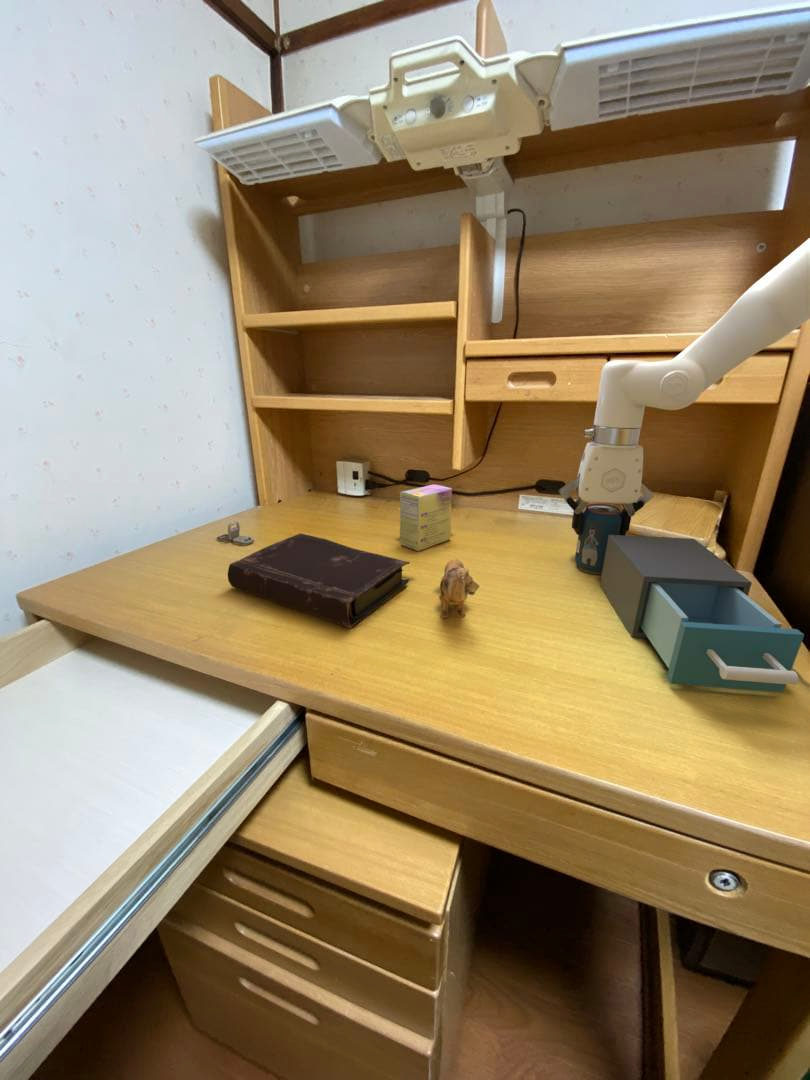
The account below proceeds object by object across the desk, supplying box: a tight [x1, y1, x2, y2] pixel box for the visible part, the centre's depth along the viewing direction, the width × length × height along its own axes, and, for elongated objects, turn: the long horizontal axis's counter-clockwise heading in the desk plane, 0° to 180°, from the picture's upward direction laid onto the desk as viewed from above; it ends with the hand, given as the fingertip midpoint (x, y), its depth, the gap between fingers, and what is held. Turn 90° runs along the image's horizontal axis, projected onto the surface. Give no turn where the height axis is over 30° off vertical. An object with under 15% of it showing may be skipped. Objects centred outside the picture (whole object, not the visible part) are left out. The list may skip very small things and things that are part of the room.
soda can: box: [574, 503, 622, 575], centre depth 86 cm, size 7×7×12 cm
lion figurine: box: [438, 558, 480, 619], centre depth 72 cm, size 15×5×9 cm, turn 3°
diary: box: [226, 533, 410, 629], centre depth 79 cm, size 19×25×5 cm
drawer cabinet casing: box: [599, 535, 752, 639], centre depth 71 cm, size 17×14×10 cm
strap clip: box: [216, 521, 255, 546], centre depth 99 cm, size 8×3×4 cm, turn 65°
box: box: [399, 483, 453, 552], centre depth 98 cm, size 10×6×12 cm, turn 134°
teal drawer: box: [640, 582, 805, 693], centre depth 58 cm, size 20×12×8 cm, turn 173°
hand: (598, 532), depth 86 cm, fingers open, 7 cm apart
